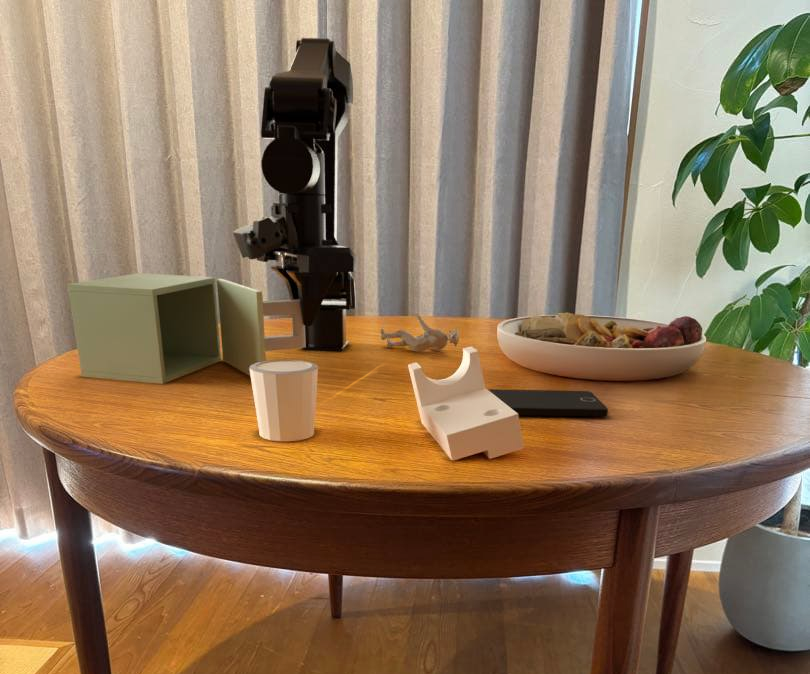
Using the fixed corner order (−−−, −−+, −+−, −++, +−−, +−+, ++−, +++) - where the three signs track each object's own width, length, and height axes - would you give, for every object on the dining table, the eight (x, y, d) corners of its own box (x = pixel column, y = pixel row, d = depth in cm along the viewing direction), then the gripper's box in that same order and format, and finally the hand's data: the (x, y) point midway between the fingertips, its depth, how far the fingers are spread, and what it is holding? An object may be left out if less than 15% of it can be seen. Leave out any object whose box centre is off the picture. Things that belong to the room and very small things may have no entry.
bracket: (423, 430, 84) (407, 364, 81) (484, 412, 85) (470, 346, 81) (454, 469, 73) (437, 394, 69) (524, 448, 73) (510, 372, 70)
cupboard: (221, 361, 111) (215, 277, 106) (163, 384, 97) (152, 289, 92) (148, 355, 114) (138, 273, 109) (81, 377, 100) (67, 284, 95)
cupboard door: (269, 356, 114) (265, 277, 109) (312, 378, 102) (309, 289, 97) (222, 360, 110) (216, 278, 106) (261, 383, 98) (256, 291, 94)
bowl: (470, 372, 107) (473, 315, 104) (522, 339, 133) (526, 292, 129) (694, 396, 97) (705, 333, 94) (704, 355, 123) (713, 304, 119)
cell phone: (608, 417, 87) (609, 409, 86) (450, 415, 86) (451, 406, 86) (589, 398, 95) (590, 390, 94) (445, 395, 94) (445, 388, 94)
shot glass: (326, 425, 82) (324, 360, 79) (312, 445, 76) (310, 374, 73) (263, 422, 82) (259, 357, 79) (245, 441, 76) (240, 371, 73)
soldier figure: (395, 350, 126) (464, 331, 122) (395, 374, 124) (466, 356, 120) (376, 321, 120) (449, 300, 116) (377, 346, 118) (451, 325, 114)
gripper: (214, 192, 98) (223, 317, 104) (266, 193, 83) (272, 340, 89) (295, 194, 103) (299, 313, 109) (357, 196, 88) (357, 334, 94)
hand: (305, 324), depth 100 cm, fingers closed on cupboard door, 2 cm apart
